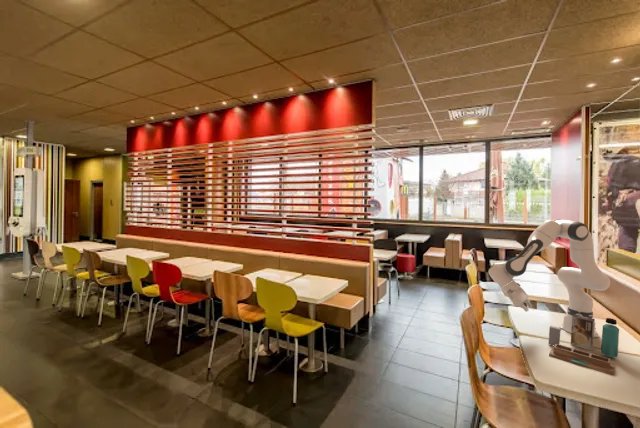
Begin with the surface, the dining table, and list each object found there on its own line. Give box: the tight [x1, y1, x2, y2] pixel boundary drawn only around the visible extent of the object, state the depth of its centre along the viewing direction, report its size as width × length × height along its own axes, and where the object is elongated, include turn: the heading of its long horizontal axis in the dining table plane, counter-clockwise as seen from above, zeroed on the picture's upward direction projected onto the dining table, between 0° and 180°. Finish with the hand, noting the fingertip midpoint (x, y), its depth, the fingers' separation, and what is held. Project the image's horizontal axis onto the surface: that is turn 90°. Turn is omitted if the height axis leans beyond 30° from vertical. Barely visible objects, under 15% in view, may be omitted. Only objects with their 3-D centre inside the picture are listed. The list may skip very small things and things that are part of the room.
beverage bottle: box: [600, 317, 620, 358], centre depth 158 cm, size 6×7×20 cm
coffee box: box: [570, 314, 596, 351], centre depth 170 cm, size 9×6×16 cm
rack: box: [548, 344, 615, 376], centre depth 153 cm, size 13×24×4 cm, turn 46°
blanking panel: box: [548, 325, 561, 347], centre depth 170 cm, size 3×4×10 cm, turn 46°
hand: (529, 308), depth 178 cm, fingers open, 8 cm apart
